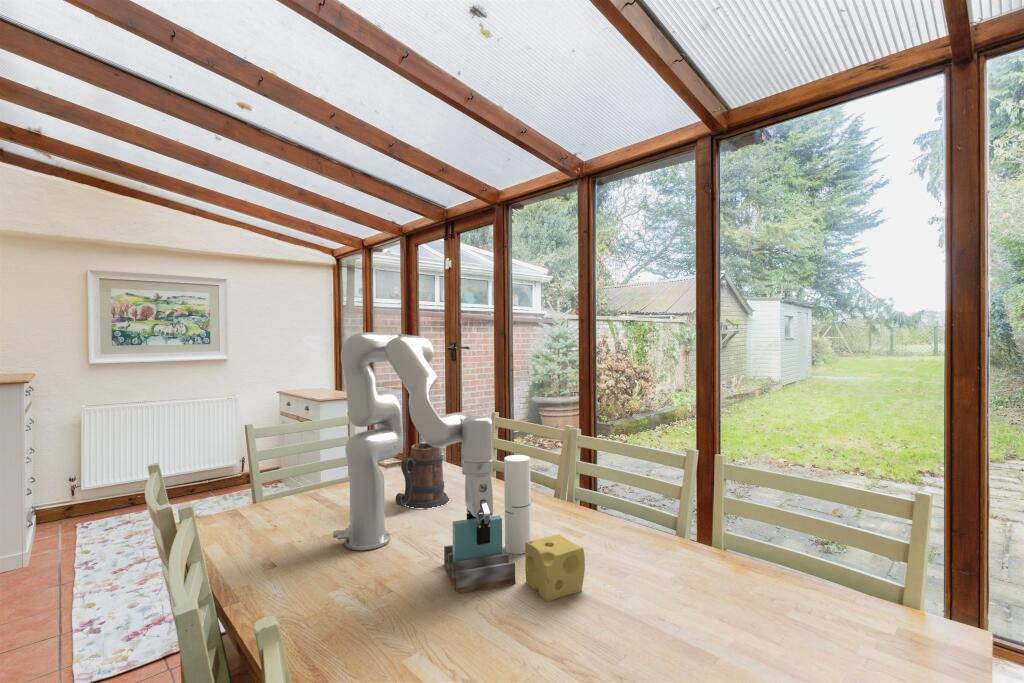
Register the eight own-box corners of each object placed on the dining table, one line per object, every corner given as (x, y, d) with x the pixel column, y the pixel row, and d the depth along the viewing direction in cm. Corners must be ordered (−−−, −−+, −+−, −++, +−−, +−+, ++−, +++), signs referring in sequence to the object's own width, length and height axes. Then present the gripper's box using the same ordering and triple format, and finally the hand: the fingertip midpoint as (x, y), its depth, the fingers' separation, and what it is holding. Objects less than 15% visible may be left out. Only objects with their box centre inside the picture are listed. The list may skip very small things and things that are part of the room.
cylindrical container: (528, 555, 129) (527, 461, 129) (502, 553, 131) (501, 460, 131) (532, 544, 136) (532, 455, 136) (507, 542, 138) (507, 454, 138)
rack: (457, 594, 110) (457, 573, 110) (444, 564, 125) (443, 545, 125) (515, 583, 115) (515, 563, 115) (496, 555, 129) (495, 538, 129)
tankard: (422, 491, 185) (421, 438, 185) (459, 497, 177) (458, 443, 177) (378, 510, 164) (378, 451, 164) (418, 519, 156) (417, 457, 156)
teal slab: (455, 574, 117) (454, 524, 117) (452, 570, 119) (452, 521, 119) (502, 566, 120) (502, 518, 120) (499, 562, 123) (499, 515, 123)
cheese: (546, 603, 106) (546, 557, 106) (523, 581, 116) (522, 539, 116) (585, 591, 111) (585, 548, 111) (559, 571, 120) (559, 531, 120)
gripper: (502, 474, 113) (503, 547, 113) (482, 457, 129) (483, 521, 129) (471, 477, 110) (471, 552, 110) (454, 459, 126) (455, 525, 127)
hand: (478, 535), depth 120 cm, fingers open, 9 cm apart
